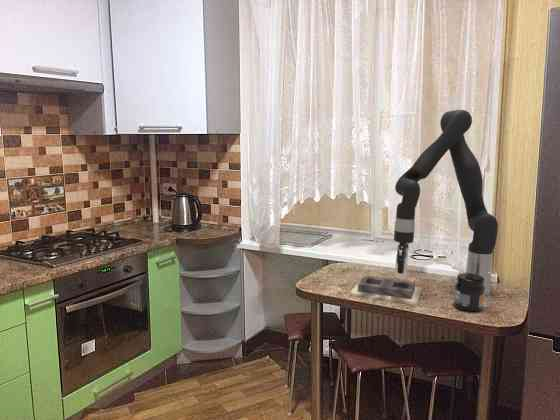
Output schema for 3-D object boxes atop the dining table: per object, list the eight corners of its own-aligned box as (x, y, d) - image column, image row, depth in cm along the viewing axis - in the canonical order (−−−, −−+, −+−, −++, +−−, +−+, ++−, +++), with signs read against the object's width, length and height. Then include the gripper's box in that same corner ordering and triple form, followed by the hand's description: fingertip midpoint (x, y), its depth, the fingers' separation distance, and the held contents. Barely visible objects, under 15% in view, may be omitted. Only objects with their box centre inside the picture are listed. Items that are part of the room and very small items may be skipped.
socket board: (421, 290, 199) (422, 280, 198) (417, 305, 182) (417, 295, 182) (359, 281, 208) (360, 272, 208) (349, 295, 192) (350, 285, 191)
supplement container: (487, 307, 182) (490, 276, 180) (477, 315, 174) (480, 283, 172) (459, 300, 189) (462, 270, 186) (448, 307, 181) (451, 276, 179)
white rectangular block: (406, 275, 193) (408, 254, 191) (405, 278, 190) (406, 256, 188) (396, 274, 195) (397, 253, 193) (394, 277, 191) (396, 255, 189)
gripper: (412, 234, 181) (408, 278, 184) (416, 226, 194) (413, 267, 197) (391, 232, 183) (388, 275, 187) (397, 224, 196) (394, 265, 200)
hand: (401, 271), depth 192 cm, fingers closed on white rectangular block, 4 cm apart
